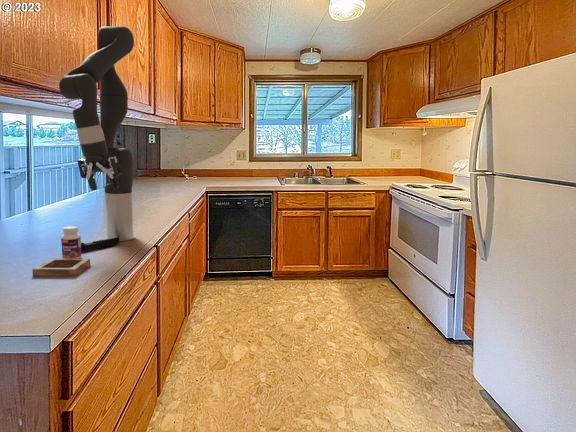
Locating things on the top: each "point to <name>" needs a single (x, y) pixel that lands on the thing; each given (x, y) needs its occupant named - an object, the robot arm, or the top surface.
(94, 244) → the electric trimmer
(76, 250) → the pill bottle
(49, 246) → the top surface
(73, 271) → the socket block
